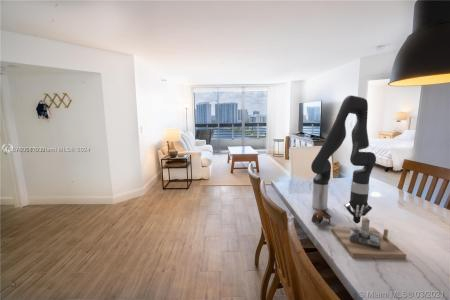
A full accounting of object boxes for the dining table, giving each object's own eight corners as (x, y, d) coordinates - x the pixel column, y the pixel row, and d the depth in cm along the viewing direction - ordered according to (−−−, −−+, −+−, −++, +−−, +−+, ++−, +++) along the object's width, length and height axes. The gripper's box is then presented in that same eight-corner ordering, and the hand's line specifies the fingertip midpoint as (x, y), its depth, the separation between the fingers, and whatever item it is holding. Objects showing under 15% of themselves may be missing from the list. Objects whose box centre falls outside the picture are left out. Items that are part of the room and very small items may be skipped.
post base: (330, 230, 112) (331, 209, 111) (373, 230, 111) (375, 209, 109) (352, 257, 91) (354, 232, 89) (405, 258, 89) (408, 232, 87)
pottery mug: (311, 217, 128) (318, 206, 127) (325, 228, 124) (333, 217, 122) (308, 221, 118) (316, 209, 116) (323, 232, 113) (332, 220, 112)
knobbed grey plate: (351, 226, 112) (351, 214, 111) (377, 232, 106) (379, 219, 104) (349, 241, 99) (350, 227, 98) (379, 248, 93) (381, 234, 92)
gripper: (349, 193, 102) (346, 226, 105) (378, 193, 101) (374, 226, 104) (342, 188, 109) (339, 218, 112) (368, 188, 109) (365, 219, 111)
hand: (356, 222), depth 108 cm, fingers closed
